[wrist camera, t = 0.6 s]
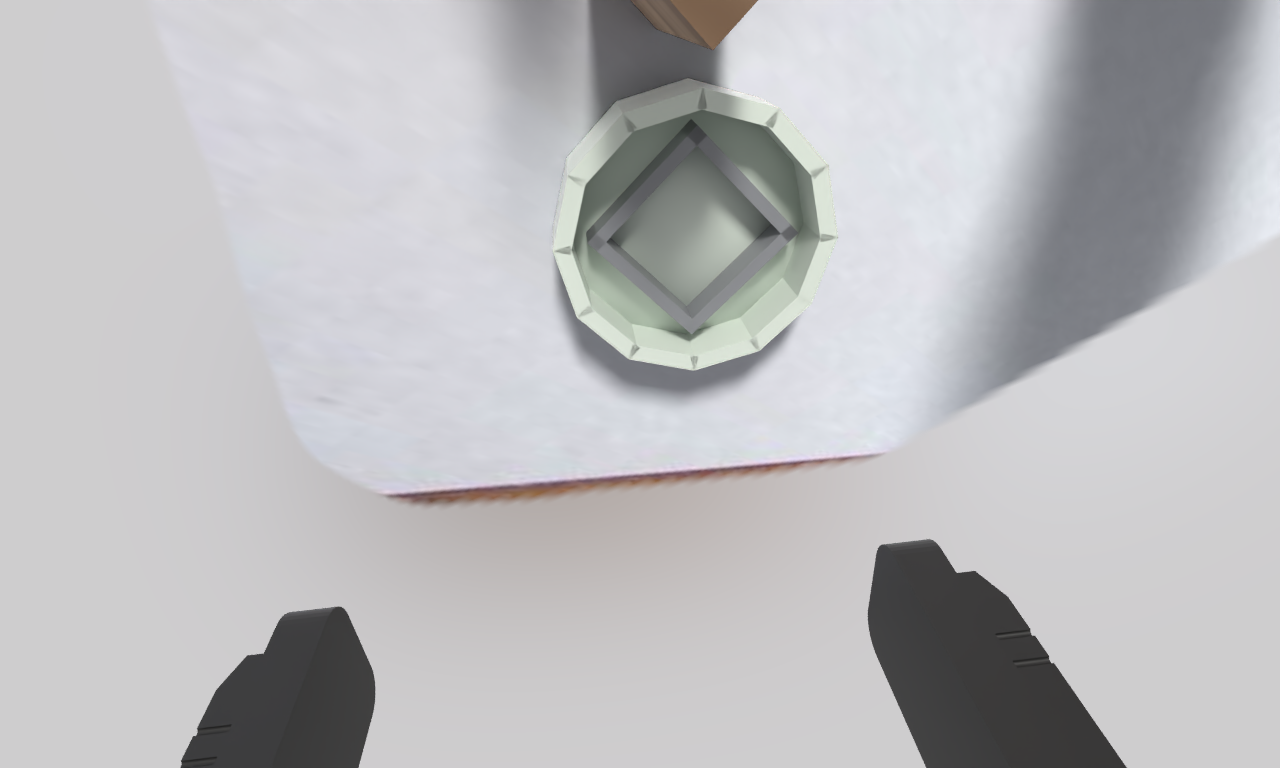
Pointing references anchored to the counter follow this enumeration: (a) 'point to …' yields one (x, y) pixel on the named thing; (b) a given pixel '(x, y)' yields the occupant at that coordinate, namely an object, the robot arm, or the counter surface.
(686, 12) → the brown wooden block
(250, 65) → the counter surface
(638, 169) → the pale green faceted dish
